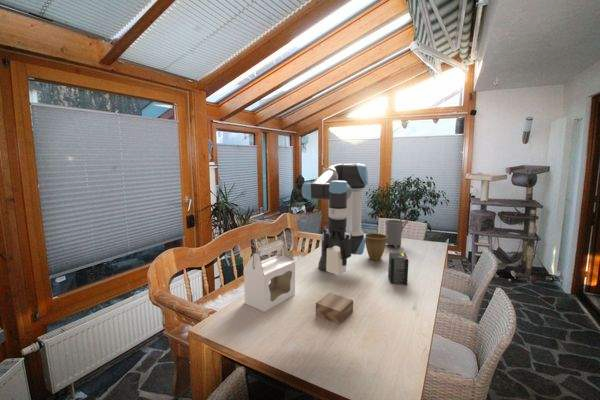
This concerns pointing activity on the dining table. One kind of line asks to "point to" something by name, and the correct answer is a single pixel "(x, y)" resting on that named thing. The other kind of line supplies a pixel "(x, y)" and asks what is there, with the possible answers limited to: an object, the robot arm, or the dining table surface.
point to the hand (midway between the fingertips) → (336, 270)
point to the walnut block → (334, 308)
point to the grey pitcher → (394, 231)
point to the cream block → (333, 260)
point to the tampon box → (398, 268)
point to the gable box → (269, 277)
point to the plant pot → (375, 245)
